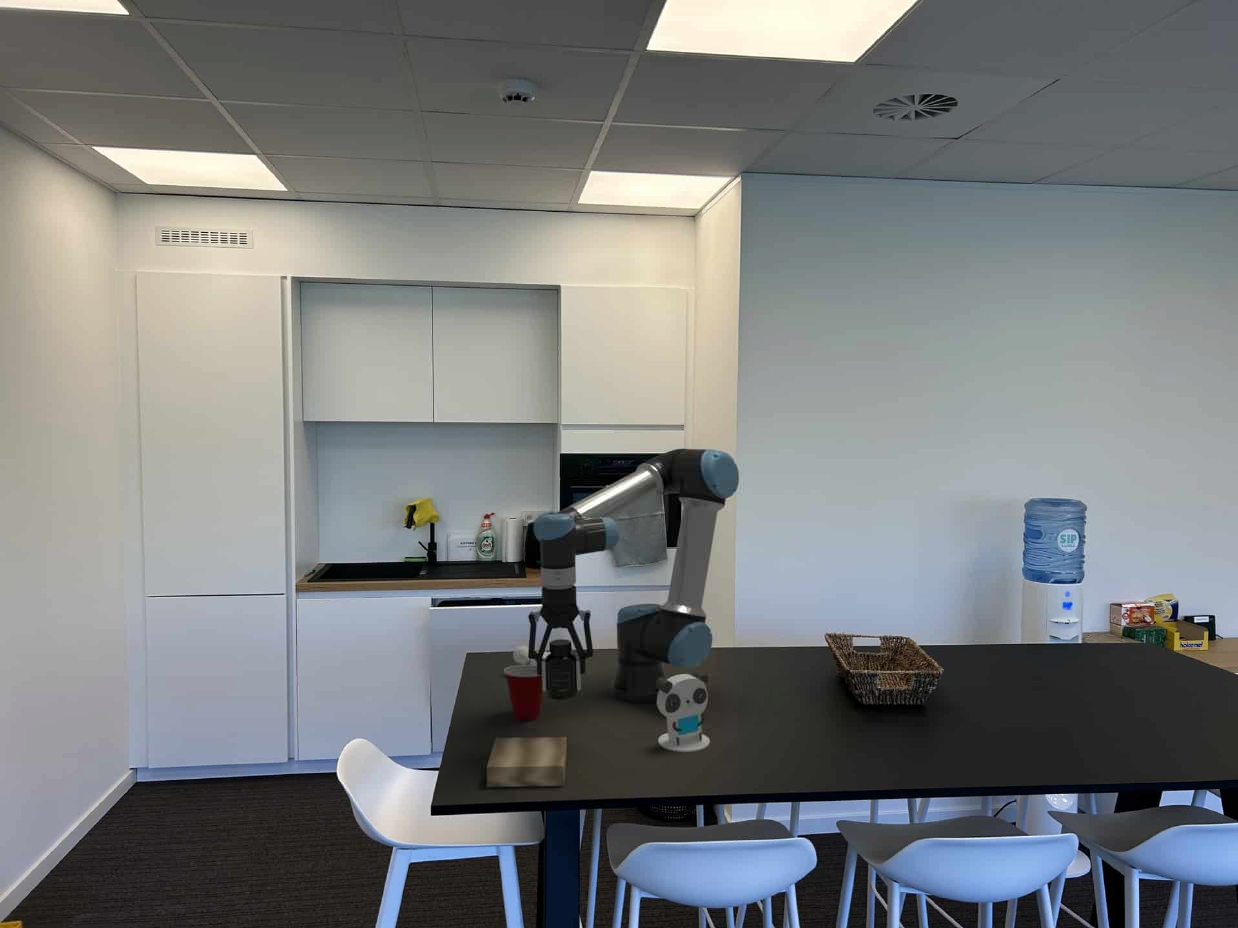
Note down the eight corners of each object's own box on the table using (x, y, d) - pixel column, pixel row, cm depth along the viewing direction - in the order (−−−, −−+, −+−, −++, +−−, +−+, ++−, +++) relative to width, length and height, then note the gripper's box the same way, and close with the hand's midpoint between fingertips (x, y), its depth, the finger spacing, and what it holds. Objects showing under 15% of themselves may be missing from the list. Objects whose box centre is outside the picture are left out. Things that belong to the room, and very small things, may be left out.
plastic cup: (556, 711, 213) (555, 663, 212) (538, 727, 203) (537, 676, 202) (516, 707, 217) (515, 659, 216) (496, 722, 206) (495, 672, 206)
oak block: (566, 755, 187) (566, 736, 186) (563, 785, 172) (563, 765, 171) (496, 756, 186) (496, 737, 186) (487, 786, 171) (486, 766, 171)
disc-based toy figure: (672, 756, 186) (672, 687, 185) (646, 738, 196) (646, 672, 195) (719, 745, 191) (719, 678, 190) (691, 728, 201) (691, 665, 200)
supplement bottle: (546, 690, 195) (544, 638, 194) (577, 689, 195) (575, 636, 194) (546, 701, 188) (544, 647, 187) (578, 699, 188) (576, 645, 188)
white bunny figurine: (560, 682, 245) (511, 662, 246) (571, 655, 244) (521, 635, 245) (555, 692, 237) (504, 672, 237) (566, 664, 236) (515, 643, 237)
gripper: (511, 590, 186) (515, 695, 188) (604, 587, 186) (606, 692, 188) (515, 582, 193) (518, 684, 195) (604, 580, 194) (606, 681, 195)
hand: (561, 688), depth 192 cm, fingers closed on supplement bottle, 7 cm apart
